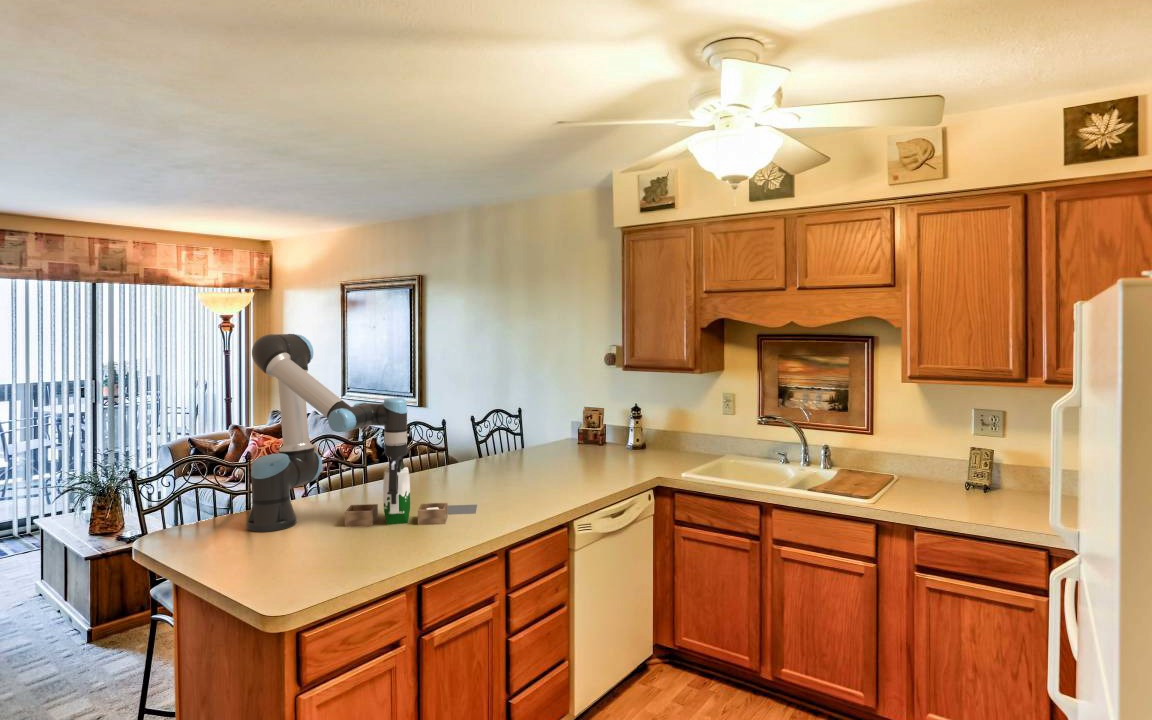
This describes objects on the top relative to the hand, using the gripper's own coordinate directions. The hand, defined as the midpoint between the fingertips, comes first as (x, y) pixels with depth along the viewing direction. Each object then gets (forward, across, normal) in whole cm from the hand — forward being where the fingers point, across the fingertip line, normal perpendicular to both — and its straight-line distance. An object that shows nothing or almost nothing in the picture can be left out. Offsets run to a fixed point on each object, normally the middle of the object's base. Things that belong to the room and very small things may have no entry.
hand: (397, 508), depth 224 cm
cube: (+4, -1, -12) cm, 13 cm away
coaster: (+5, +12, -20) cm, 24 cm away
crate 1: (+5, 0, +12) cm, 13 cm away
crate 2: (+5, -1, -12) cm, 13 cm away
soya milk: (+5, 0, 0) cm, 5 cm away
